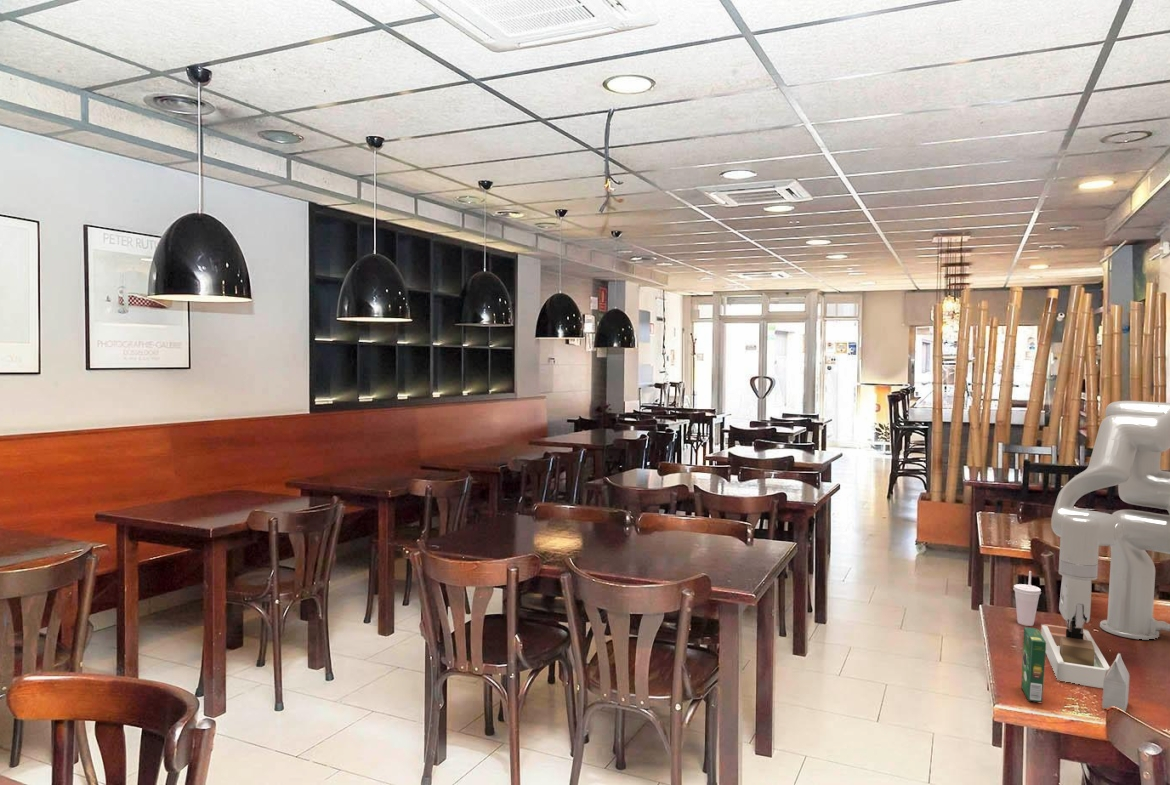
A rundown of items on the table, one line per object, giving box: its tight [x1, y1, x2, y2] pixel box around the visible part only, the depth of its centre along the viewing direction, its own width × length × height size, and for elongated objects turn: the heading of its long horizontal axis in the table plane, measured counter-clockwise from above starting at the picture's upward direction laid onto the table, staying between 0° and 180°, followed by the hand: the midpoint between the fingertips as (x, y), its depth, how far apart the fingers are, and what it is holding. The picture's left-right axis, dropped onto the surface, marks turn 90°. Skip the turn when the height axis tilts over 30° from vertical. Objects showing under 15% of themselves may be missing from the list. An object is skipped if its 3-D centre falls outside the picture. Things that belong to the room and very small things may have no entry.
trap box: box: [1040, 623, 1111, 689], centre depth 182 cm, size 10×28×4 cm, turn 157°
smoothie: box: [1013, 570, 1042, 627], centre depth 208 cm, size 6×6×14 cm
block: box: [1060, 636, 1095, 667], centre depth 176 cm, size 6×6×4 cm
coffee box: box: [1020, 626, 1046, 703], centre depth 163 cm, size 8×3×13 cm, turn 160°
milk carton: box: [1101, 652, 1130, 712], centre depth 159 cm, size 4×7×10 cm, turn 140°
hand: (1073, 647), depth 181 cm, fingers closed
